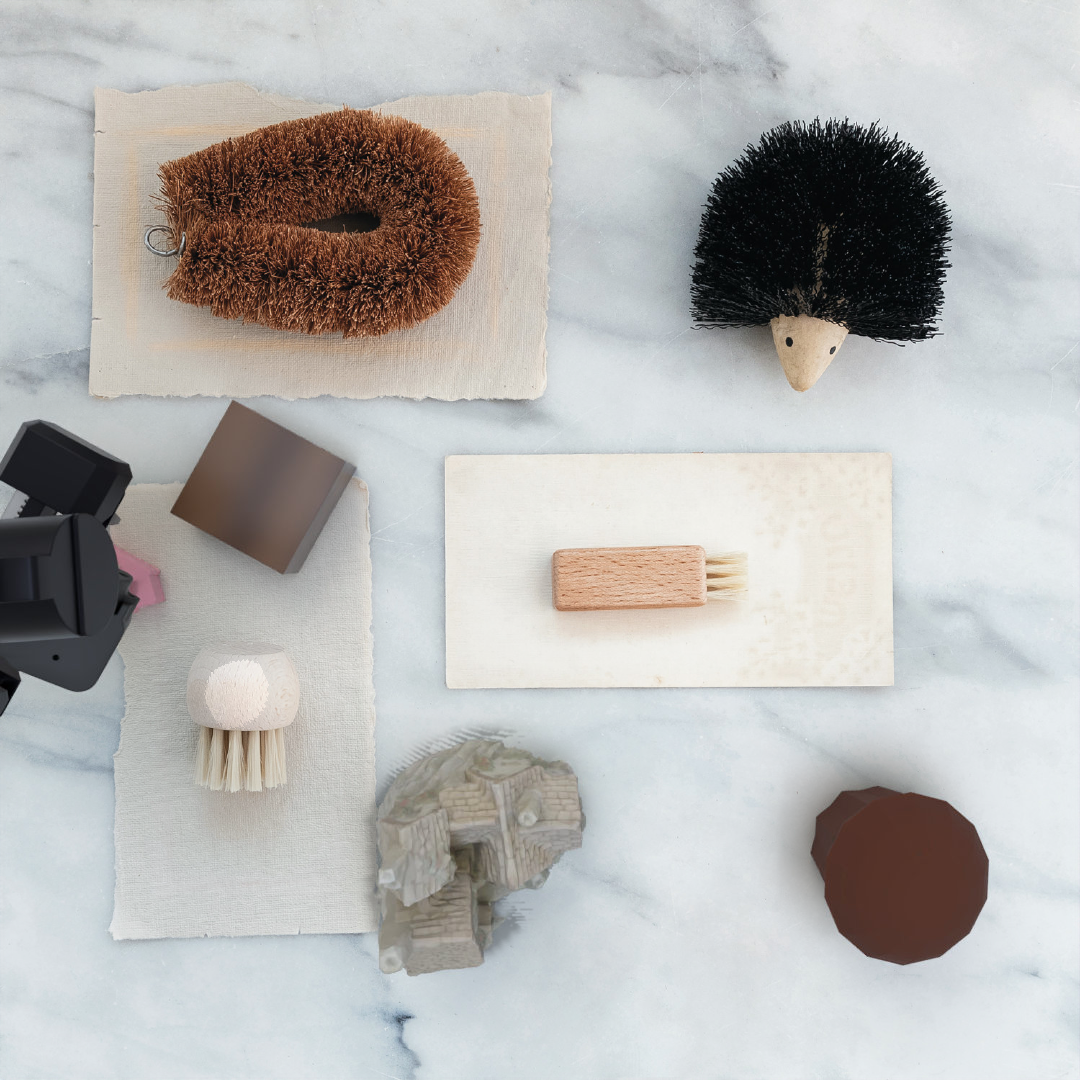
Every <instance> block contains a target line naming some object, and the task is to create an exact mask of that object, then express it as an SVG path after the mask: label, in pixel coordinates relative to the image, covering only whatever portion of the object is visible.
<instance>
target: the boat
mask: <svg viewBox="0 0 1080 1080" xmlns="http://www.w3.org/2000/svg"><path fill="white" fill-rule="evenodd" d="M113 545H114V548H115V552H116V556H117V561H118V567H119V569H121V570H123V571H125V572H127V573H129V574H130V575H131V576H132V577H133V581H132V583H131V585H130V587H129V591H130V593H132V594H134V595H136V596H137V597H139V598H140V601H139V603H138V604H137V606H136V608H135V610H134V612H133V613H132V615H133V614H138V613H139V612H140V609H143V608H146V607H150V606H153V605H156V604H160V603H164V602H166V596H165V592H164V589H163V586H162V582H161V579H160V576H159V575H160V573H161V571H162V570H161V569H159V568H157V567H156V566H154V565H152V564H151V563H149V562H146V561H144V560H143V559H141V558H139V557H137V556H135V555H134V554H133V553H130V552H128V551H127V550H125V549H122V548H121V547H119V546H117V545H116V544H114V543H113Z"/></svg>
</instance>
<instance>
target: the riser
mask: <svg viewBox="0 0 1080 1080" xmlns="http://www.w3.org/2000/svg"><path fill="white" fill-rule="evenodd" d="M204 448H205V449H204V450H203V451H202V454H201V455H200V457H199V459H198V461H197V463H196V465H195V466H194V468H193V470H192V471H191V473H190V475H189V477H188V478H187V481H186V482H185V484H184V485H183V488H182V489H181V491H180V493H179V495H178V496H177V499H176V500H175V502H174V504H173V506H172V507H171V509H170V510H169V513H170V514H172V515H173V516H175V517H177V518H179V519H180V520H183V521H184V522H187V523H188V524H190V525H192V527H195V528H197V529H199V530H200V531H202V532H205V533H206V534H208V535H209V536H212V537H213V538H215V539H217V540H219V541H220V542H222V543H225V544H227V546H230V547H232V548H233V549H235V550H237V551H238V552H241V553H242V554H245V556H248V557H250V558H252V559H254V560H255V561H256V562H257V561H258V562H259V563H261V564H263V565H264V566H266V567H268V568H270V569H272V570H274V571H275V572H277V573H279V574H281V575H291V574H299V573H300V571H301V570H302V568H303V566H304V564H305V562H306V561H307V558H309V555H310V554H311V552H312V550H313V548H314V546H315V544H316V542H317V541H318V539H319V537H320V535H321V533H322V531H323V530H324V528H325V526H326V525H327V522H328V521H329V520H330V517H331V515H332V513H333V512H334V510H335V508H336V506H337V505H338V503H339V501H340V499H341V497H342V495H343V494H344V493H345V490H346V489H347V487H348V485H349V483H350V481H351V480H352V477H353V476H354V474H355V473H356V471H357V469H358V467H357V466H356V465H354V464H352V463H350V462H349V461H347V460H345V459H343V458H341V457H339V456H338V455H336V454H335V453H333V452H330V451H328V450H327V449H325V448H323V447H321V446H320V445H317V444H316V443H314V442H312V441H310V440H308V439H307V438H305V437H303V436H301V435H299V434H297V433H296V432H294V431H292V430H291V429H288V428H287V427H285V426H283V425H281V424H280V423H278V422H276V421H274V420H272V419H271V418H269V417H267V416H265V415H263V414H261V413H259V412H257V411H255V410H254V409H252V408H251V407H248V406H246V405H245V404H242V403H240V402H238V401H237V400H234V399H232V400H231V401H230V403H229V406H228V407H227V409H226V411H225V413H223V416H222V417H221V419H220V421H219V423H218V425H217V427H216V428H215V430H214V432H213V434H212V435H211V438H210V439H209V441H208V442H207V444H206V447H204Z"/></svg>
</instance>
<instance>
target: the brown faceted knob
mask: <svg viewBox="0 0 1080 1080" xmlns="http://www.w3.org/2000/svg"><path fill="white" fill-rule="evenodd" d="M814 830H815V831H814V838H813V841H812V846H811V849H810V855H811V857H812V859H813V861H814V863H815V865H816V868H817V869H818V871H819V874H820V876H821V878H822V881H823V882H824V895H823V898H824V900H825V903H826V905H827V907H828V910H829V913H830V915H831V917H832V919H833V921H834V924H835V926H836V929H837V931H838V933H839V934H840V935H841V936H842V937H844V938H845V939H846V940H847V941H849V943H851V944H852V945H853V946H854V947H855V948H856V949H857V950H859V951H860V952H861V953H862V954H864V955H865V957H867V958H871V959H876V960H879V961H882V962H883V961H884V962H887V963H892V964H895V965H899V966H908V965H912V964H916V963H921V962H925V961H929V960H934V959H939V958H941V957H943V956H944V955H945V954H947V953H948V952H949V951H951V949H952V948H953V947H955V946H956V945H957V944H959V942H961V941H962V940H963V939H965V938H966V937H967V936H968V935H970V934H971V932H972V930H973V928H974V926H975V924H976V922H977V920H978V918H979V916H980V915H981V912H982V911H983V908H984V906H985V905H986V902H987V900H988V897H989V896H988V895H989V894H988V893H989V870H990V859H989V857H988V855H987V852H986V850H985V848H984V845H983V842H982V840H981V838H980V835H979V833H978V830H977V828H976V826H975V824H974V823H972V821H970V820H969V819H968V818H966V816H964V814H962V813H961V812H960V811H959V810H958V809H957V808H955V807H954V806H953V805H952V804H951V803H950V802H948V801H947V800H945V799H940V798H936V797H932V796H928V795H925V794H920V793H916V792H913V791H908V792H900V791H898V790H893V789H890V788H887V787H883V786H880V785H876V786H870V787H867V788H863V789H855V790H842V791H840V793H839V794H838V796H837V797H836V798H835V799H834V800H833V801H832V802H831V804H830V805H829V806H828V807H826V808H825V809H824V810H823V811H821V812H819V814H818V815H817V816H816V817H815V829H814Z"/></svg>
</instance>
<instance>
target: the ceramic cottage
mask: <svg viewBox="0 0 1080 1080" xmlns="http://www.w3.org/2000/svg"><path fill="white" fill-rule="evenodd" d="M578 783H579V778H578V776H577V775H576V774H575V773H574V770H573V767H572V766H571V765H570V764H569V763H567V762H565V761H564V760H556V761H555V760H554V761H546V760H545V759H544V758H543V757H542V756H538V757H534V755H533V753H532V751H529V750H527V749H524V748H520V749H519V748H518V747H517V746H512V747H506V746H505V744H504V742H503V741H501V742H500V741H493V740H487V739H479V738H477V739H470V740H466V741H464V742H461V743H459V744H455V745H454V746H452V748H446V749H442V750H440V751H438V752H435V753H433V754H431V755H427V756H424V757H423V758H421V759H419V760H416V761H415V762H413V763H412V764H410V765H409V766H406V768H404V769H403V770H401V771H400V772H399V773H398V774H397V776H396V777H395V779H394V780H393V782H392V783H391V785H390V786H389V788H388V790H387V792H386V794H385V795H384V798H383V801H382V802H381V804H380V805H379V806H378V810H377V819H376V821H375V825H374V826H375V829H376V832H377V841H376V844H377V848H378V852H379V855H380V858H381V861H380V868H379V869H378V874H377V877H376V879H375V885H376V887H377V889H376V892H375V895H374V899H375V900H376V901H377V902H378V907H379V912H380V914H381V916H382V924H381V927H380V929H379V932H378V969H379V970H380V971H381V972H382V974H385V975H391V974H396V973H398V972H401V971H402V970H403V969H404V970H405V971H406V975H407V976H408V977H418V976H420V975H421V974H422V975H423V974H424V975H425V974H432V973H436V972H439V971H446V970H462V969H463V970H464V969H470V968H471V969H472V968H478V967H480V966H481V965H483V964H484V963H485V955H484V951H487V950H488V949H489V948H490V946H491V945H492V944H493V943H494V939H493V932H494V931H495V930H496V929H498V928H499V927H500V926H502V925H503V924H504V923H505V922H506V921H507V917H506V916H499V915H497V913H496V908H495V903H497V902H498V901H500V900H502V899H503V898H505V897H508V896H510V895H511V894H513V893H516V892H519V891H523V890H526V889H528V890H532V891H533V890H534V891H536V890H540V889H542V888H543V887H544V885H545V883H546V882H547V880H548V879H549V877H550V875H551V872H550V871H549V870H552V869H553V868H554V866H555V865H557V864H559V863H560V860H561V858H562V857H563V856H564V853H565V852H567V851H572V850H577V849H582V847H583V832H584V831H585V829H586V827H587V816H586V815H585V813H584V812H583V802H582V798H581V797H580V796H579V788H578V787H579V786H578Z"/></svg>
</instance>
